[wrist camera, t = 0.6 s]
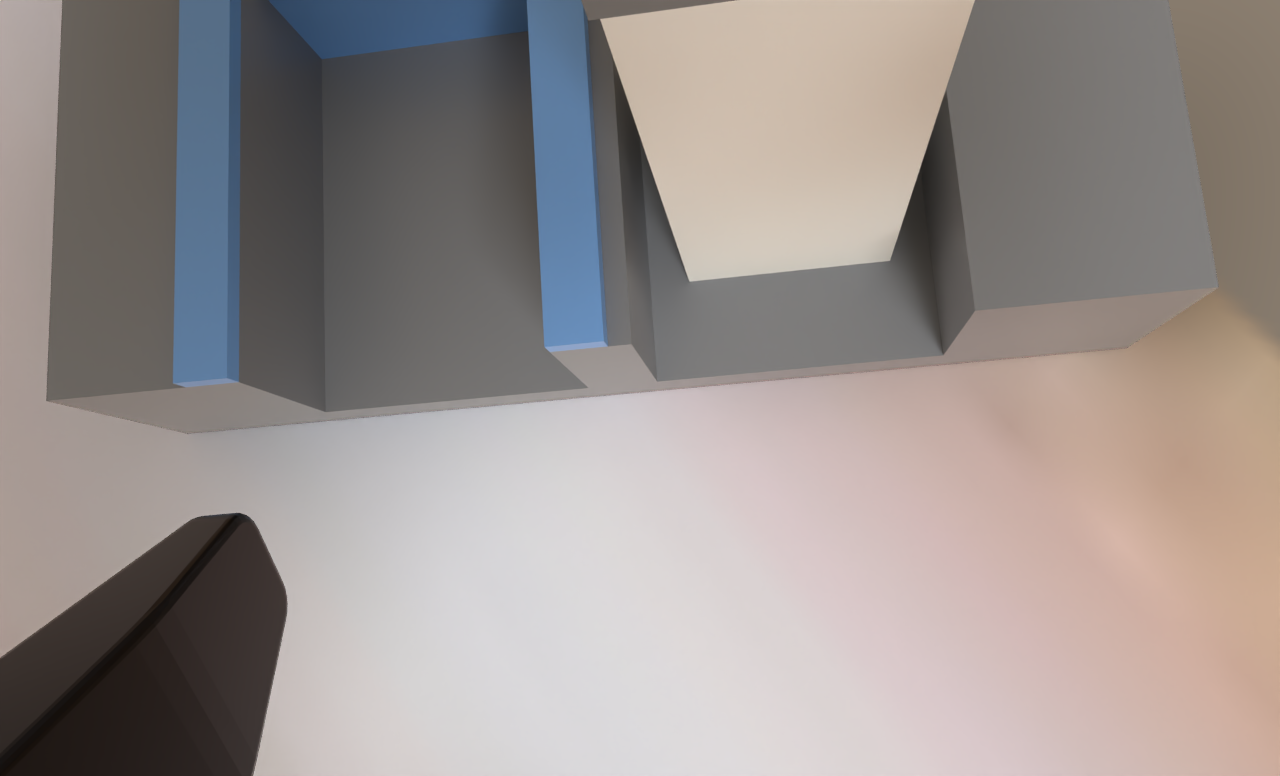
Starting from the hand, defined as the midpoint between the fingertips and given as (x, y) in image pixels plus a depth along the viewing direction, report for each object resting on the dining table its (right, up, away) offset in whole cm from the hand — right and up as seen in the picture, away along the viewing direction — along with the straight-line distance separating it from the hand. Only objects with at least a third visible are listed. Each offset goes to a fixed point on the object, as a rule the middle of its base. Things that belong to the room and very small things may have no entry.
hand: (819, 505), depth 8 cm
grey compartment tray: (-2, +5, +15) cm, 15 cm away
